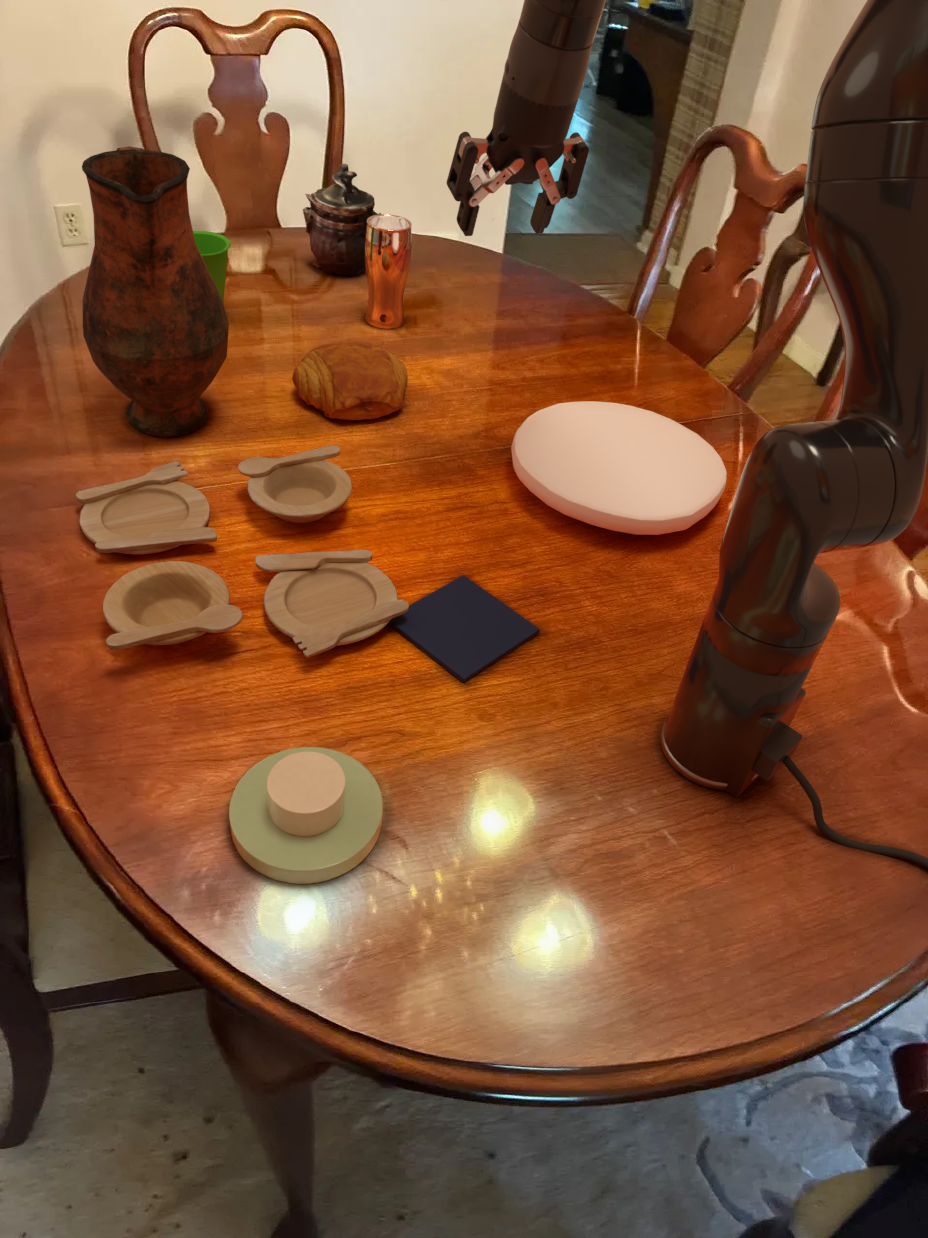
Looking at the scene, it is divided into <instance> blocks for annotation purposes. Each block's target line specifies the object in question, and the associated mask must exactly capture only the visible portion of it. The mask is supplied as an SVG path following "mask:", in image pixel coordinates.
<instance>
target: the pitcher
mask: <svg viewBox="0 0 928 1238" xmlns="http://www.w3.org/2000/svg"><path fill="white" fill-rule="evenodd" d="M190 169H191V168H190V167H189V165H188V163H187V161H186V160H184V159H183V158H182V157H181V158H180V157H179V156H177V155H174V154H172V153H168V152H164V151H158V150H148V149H144V148H142V147H135V146H122V147H117V148H116V150H110V151H104V152H103V151H102V152H100V153H97V154H94V155H90V156H89V157H87V158H86V159H85V160H83V162H82V165H81V170H82V172H83V174H85V177H86V180H87V184H88V188H89V195H90V196H89V197H90V201H91V205H92V206H91V207H92V213H93V234H94V235H93V236H94V238H93V239H94V246H93V250H92V254H91V256H92V257H91V259H90V264H89V269H88V273H87V276H86V282H85V286H84V291H83V296H82V301H81V302H82V304H81V305H82V335H83V338H84V339H83V340H84V341H85V344H86V347H87V349H88V351H89V354H90V357H91V360H92V362H93V364H94V366H96V367H97V369H98V370H99V372H101V373H102V375H103V376H104V377H105V378H106V379H107V380H108V381H109V382H110V383H111V385H113V387H114V388H115V389H117V390H118V391H119V392H121V393H122V394H123V395H124V396H125V397H127V398H128V399H129V400H131V401H130V403H129V404H128V405H127V407H126V411H125V412H126V413H125V415H126V418H127V421H128V423H129V424H130V425H131V426H132V427H133V428H134V429H136V430H137V431H139V432H141V433H142V434H145V435H148V436H150V437H158V438H172V437H173V438H174V437H180V436H184V435H188V434H190V433H193V432H195V431H197V430H198V429H199V428H201V427H202V426H203V425H205V423H206V422H207V420H208V415H209V410H208V407H207V405H206V403H205V401H204V400H203V399H202V398H201V396H202V395H203V393H204V392H205V391H206V390H207V389H208V387H209V386H210V385H211V384H212V383H213V381H214V379H215V378H216V376H218V373H219V371H220V369H221V368H222V366H223V364H224V363H225V361H226V359H227V357H228V348H229V347H228V345H229V331H230V330H229V328H230V323H229V319H228V315H227V312H226V309H225V306H224V302H222V299H221V296H220V293H219V291H218V289H217V287H216V285H215V283H214V281H213V279H212V277H211V275H210V273H209V271H208V269H207V267H206V265H205V263H204V261H203V258H202V256H201V254H200V252H199V250H198V247H197V245H196V243H195V239H194V234H193V231H194V230H193V225H192V220H191V215H190V208H189V196H188V177H189V173H190Z"/></svg>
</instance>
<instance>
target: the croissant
mask: <svg viewBox="0 0 928 1238" xmlns="http://www.w3.org/2000/svg"><path fill="white" fill-rule="evenodd" d="M291 379H292V382H293V385H294V387H296V389H297V395H298V397H300V399H301V400H303V401H305V403H306V405H307V406H312V407H314V408H315V409H316V410H320V411H322V414H323V415H324V416H325V417H326V418H329V419H336V420H344V421H362V420H375V419H379V418H381V417H384V416H388V415H390V414H392V413H394V412H396V411H399V410H401V409H402V408H404V407H405V405H404V404H403V403H404V396H405V392H406V390H407V388H408V380H409V378H408V370H407V367H406V365H405V364H404V362H403V361H401V360H400V359H399V358H398V357H397V356H395V355H394V354H393V353H392V352H390V351H387V350H386V348H384V346H382V345H380V344H379V343H373V342H370V341H366V340H360V339H353V340H352V339H350V340H345V341H335V342H330V343H325V344H320V345H318V346H314V347H313V348H311V349H310V350H309V351H308V352H307V353H306V354H305V355H303V357H302V358H301V360H300V362H299V363H298V364H297V365H296V367H295V368H294V370H293V373H292V377H291Z"/></svg>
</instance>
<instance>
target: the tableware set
mask: <svg viewBox="0 0 928 1238" xmlns="http://www.w3.org/2000/svg"><path fill="white" fill-rule="evenodd" d="M340 455H341V448H340V446H339V445H336V444H331V445H326V446H321V447H317V448H314V449H309V450H305V451H302V452H297V453H293V454H289V455H286V456H282V457H281V456H280V457H275V458H273V457H267V456H252V457H249V458H246V459H244V460H242V461H240V462H239V463H238V465H237V470H238V472H239V473H240V474H241V475H242V476H243V475H244V476H246V477H249V479H248V481H247V493H248V495H249V497H250V500H251V501H253V503H255V505H256V506H257V507H258V508H260V509H261V510H263V511H265V512H267V513H269V514H272V515H274V516H276V517H278V519H279V518H280V519H281V520H283V521H286V522H289V523H295V524H307V523H312V522H316V521H318V520H320V519H322V518H324V517H325V516H326V515H328V514H330V513H332V512H335V511H336V510H338V509H339V508H341V507H343V506H344V504H346V502H348V500H349V498H350V497H351V494H352V492H353V483H352V482H353V481H352V479H351V477H350V475H349V474H348V472H347V471H345V469H343V468H341V466H339V465H337V464H336V463H333V462H332V461H328V460H329V459H333V458H337V457H339V456H340ZM187 476H189V473H188V470H186V469H185V468H184V467H183V466H181V463H180V462H179V461H178V460H175V461H171V462H168V463H166V464H165V463H164V464H162V465H159V466H156V467H153V468H152V469H150V470H149V471H148V472H147V473H146V474H144V475H141V476H136V477H133V478H129V479H125V480H121V481H116V482H113V483H109V484H104V485H100V486H95V487H90V488H86V489H82V490H79V491H77V492H76V493H75V498H76V501H77V502H78V503H79V504H84V505H83V507H82V508H81V510H80V514H79V525H80V529H81V531H82V533H83V534H84V536H85V537H86V538H87V540H89V542H91V543H92V544H94V546H95V550H96V552H98V553H99V554H100V553H101V554H110V553H118V554H124V555H125V554H126V555H148V554H149V555H150V554H157V553H158V554H159V553H162V552H165V551H169V550H172V549H175V548H178V547H180V546H185V545H194V544H195V545H196V544H197V545H198V544H205V543H214V542H217V541H218V534H217V531H216V530H215V529H214V528H213V527H209V526H207V524H208V523H209V520H210V517H211V508H210V507H211V506H210V503H209V501H208V499H207V497H206V496H205V495H204V494H203V493H202V492H201V491H200V490H199V489H197V488H196V487H194V486H193V485H190V484H187V483H185V482H182V481H179V480H180V479H182V478H185V477H187ZM373 557H374V555H373V552H372V551H371V550H368V549H350V550H349V549H348V550H329V551H328V550H327V551H305V552H289V553H273V554H258V555H255V567H256V568H257V569H258V570H261V571H263V572H278V573H277V574H275V575H274V576H273V577H272V578H271V580H270V582H269V583H268V585H267V587H266V588H265V591H264V595H263V605H264V611H265V614H266V616H267V618H268V620H269V622H270V623H271V624H272V625H273V626H274V627H275V628H276V629H277V630H278V631H280V632H281V633H283V634H284V635H286V636H288V637H289V638H291V639H292V641H293V643H294V644H295V645H297V647H298V649H299V650H300V651H302V654H303V655H304V657H306V658H311V657H313V656H316V655H319V654H322V653H324V652H327V651H329V650H332V649H334V648H335V647H336V646H344V645H349V644H353V643H357V642H360V641H363V640H365V639H368V638H370V637H372V636H374V635H375V634H377V633H379V632H380V631H381V630H383V629H384V628H385V627H386V626H387V625H389V624H388V622H389V621H390V620H391V619H392V618H395V617H397V616H400V615H402V614H405V613H406V612H408V610H409V605H410V604H409V603H408V602H407V601H406V600H404V599H399V598H398V597H399V596H398V592H397V588H396V586H395V584H394V582H393V581H392V580H391V578H389V576H388V575H386V574H385V572H383V571H382V570H381V569H380V568H378V567H376V566H375V565H373V564H371V563H370V562H371V561H372V560H373ZM230 593H231V592H230V589H229V587H228V584H227V583H226V581H225V580H224V579H223V578H222V576H221V575H220V574H218V573H217V572H216V571H214V570H212V569H210V568H208V567H206V566H203V565H201V564H198V563H194V562H189V561H182V560H180V561H179V560H168V561H159V562H154V563H149V564H146V565H143V566H140V567H137V568H135V569H133V570H130V571H129V572H127V573H125V574H124V575H122V576H120V577H119V578H118V579H117V580H115V582H114V583H112V585H111V586H110V587H109V589H108V590H107V591H106V593H105V596H104V598H103V602H102V603H103V604H102V610H103V615H104V619H105V620H106V623H107V624H108V626H109V627H110V628H111V629H112V630H113V631H114V632H115V633H112V634H110V635H109V636H107V638H106V640H105V643H106V646H107V649H109V650H112V651H119V650H124V649H128V648H132V647H137V646H141V645H148V646H149V645H150V646H167V645H168V646H169V645H178V644H181V643H185V642H187V641H192V640H194V639H196V638H198V637H200V636H203V635H205V634H206V633H211V634H212V633H213V634H218V633H223V632H227V631H230V630H232V629H233V628H235V627H237V626H238V625H239V624H240V623H241V622H242V620H243V611H242V610H241V609H240V607H238V606H236V605H233V604H230V602H231V594H230Z"/></svg>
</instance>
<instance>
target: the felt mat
mask: <svg viewBox="0 0 928 1238" xmlns="http://www.w3.org/2000/svg"><path fill="white" fill-rule="evenodd" d="M408 605H409V610H408V612H406V613H405V614H402V615H400V616H397V617H395V618H392V619H391V620H390V621H389V622H388V624H387V625H388V626H390V627H392V629H394V630H395V631H397V632H398V633H399V634H400V635H402V636H403V637H404V638H406V639H407V640H408V641H409V642H410V643H412V644H413V645H415V646H416V647H417V648H418V649H419V650H420V651H422V652H423V653H424V654H426V655H427V656H428V657H430V658H431V659H432V660H433V661H434V662H436V663H437V664H439V665H440V666H441V667H442V668H444V670H446V671H447V672H448V673H450V674H451V675H453V676H454V677H455V678H457V679H458V680H459V681H460V682H461V683H463V684H464V683H466V682H468V681H470V680H471V679H472V678H473V677H475V676H477V675H479V674H480V673H481V672H483V671H484V670H486V669H487V668H489V667H490V666H492V665H493V664H495V663H497V662H498V661H500V660H501V659H503V658H504V657H506V656H507V655H509V654H510V653H512V652H513V651H515V650H516V649H518V648H519V647H521V646H522V645H524V644H525V643H527V642H528V641H530V640H532V639H533V638H534V637H536V636H538V635H539V634H540V632H541V628H539V627H538V626H536V625H535V624H534V623H532V622H531V621H530V620H528V619H527V618H525V617H523V616H522V615H521V614H519V613H518V612H517V611H515V610H514V609H513V608H511V607H509V606H508V605H506V604H505V603H504V602H503V601H501V600H499V598H497V597H496V596H494V595H493V594H491V593H490V592H488V591H487V590H485V589H484V588H483V587H481V586H480V585H478V584H477V583H476V582H474V581H473V580H471V579H470V578H468V577H467V576H466V575H464V574H462V575H461V576H459V577H457V578H455V579H454V580H452V581H450V582H448V583H447V584H445V585H443V586H441V587H440V588H438V589H436V590H434V591H431V592H430V593H429V594H426V595H425V596H423V597H421V598H420V599H418V600H416V601H415V602H413V603H410V604H408Z"/></svg>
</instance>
